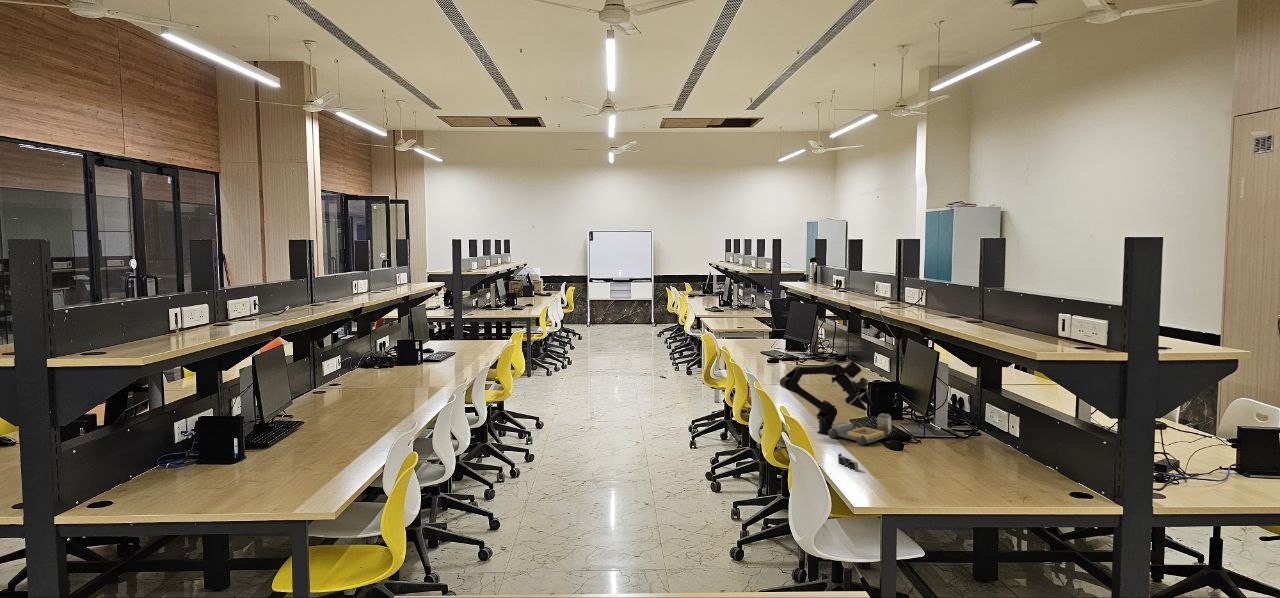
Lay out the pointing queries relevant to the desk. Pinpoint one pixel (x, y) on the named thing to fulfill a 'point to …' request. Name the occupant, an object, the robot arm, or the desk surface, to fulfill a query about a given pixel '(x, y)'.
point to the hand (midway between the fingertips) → (869, 408)
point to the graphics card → (847, 462)
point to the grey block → (884, 423)
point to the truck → (856, 433)
